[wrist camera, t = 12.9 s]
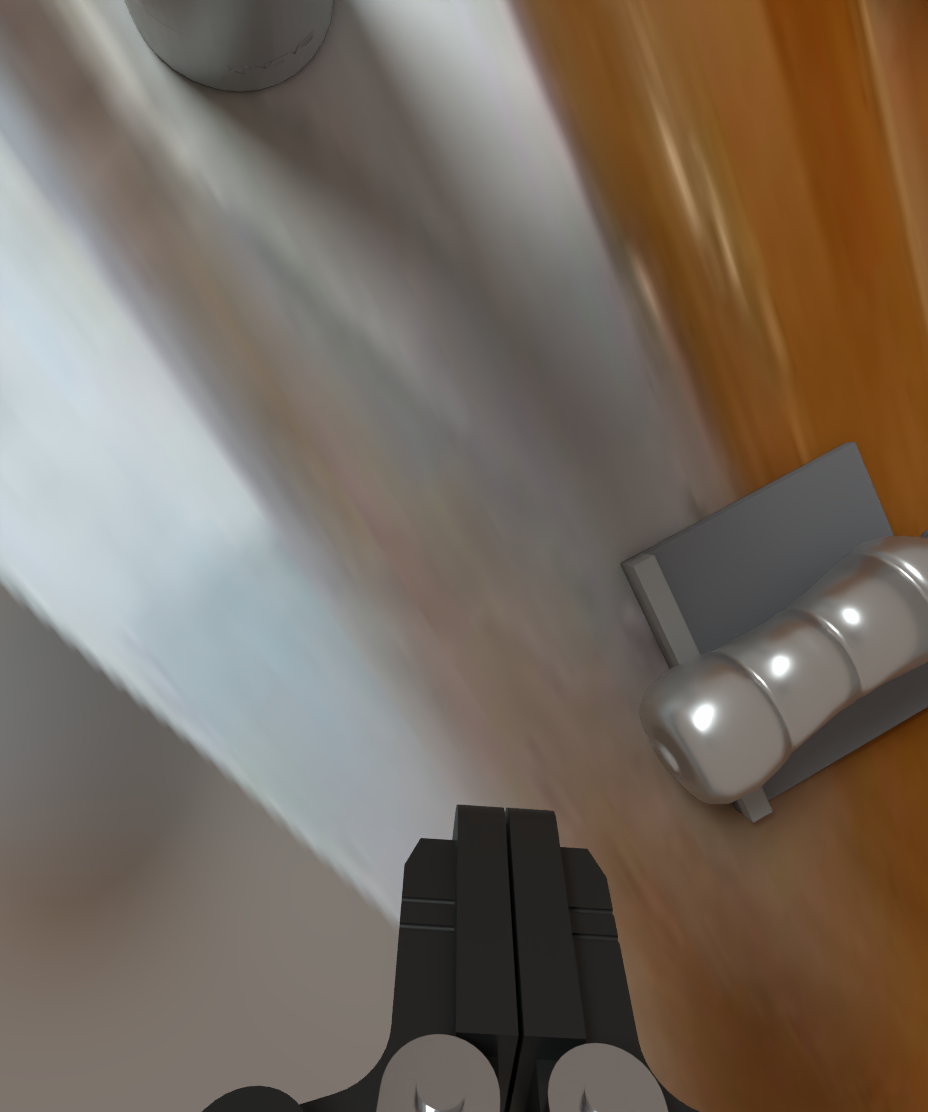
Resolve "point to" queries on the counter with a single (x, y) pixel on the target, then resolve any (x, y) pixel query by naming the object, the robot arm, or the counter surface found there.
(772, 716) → the silver aluminum bottle
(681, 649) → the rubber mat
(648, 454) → the counter surface
